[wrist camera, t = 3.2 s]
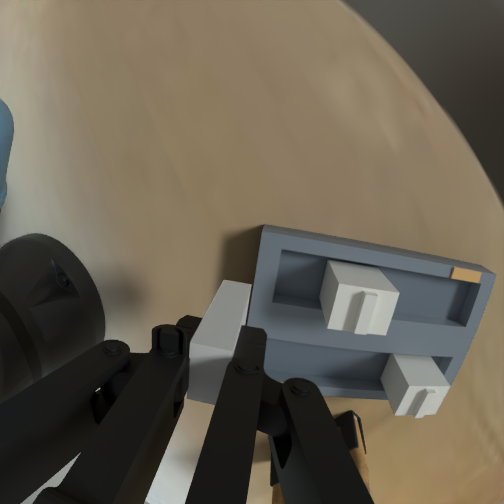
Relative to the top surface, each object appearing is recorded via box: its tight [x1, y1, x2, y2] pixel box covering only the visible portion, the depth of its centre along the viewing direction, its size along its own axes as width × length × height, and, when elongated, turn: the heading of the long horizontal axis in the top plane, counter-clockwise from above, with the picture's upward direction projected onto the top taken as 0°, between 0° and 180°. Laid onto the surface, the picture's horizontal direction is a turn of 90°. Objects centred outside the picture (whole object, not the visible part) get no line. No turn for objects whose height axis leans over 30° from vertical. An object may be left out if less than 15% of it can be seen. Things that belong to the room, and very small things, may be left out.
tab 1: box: [319, 260, 400, 336], centre depth 21 cm, size 4×3×6 cm
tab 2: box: [380, 353, 450, 418], centre depth 22 cm, size 4×3×6 cm
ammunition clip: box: [270, 410, 370, 504], centre depth 24 cm, size 11×2×12 cm, turn 132°
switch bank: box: [247, 224, 496, 400], centre depth 24 cm, size 20×13×3 cm, turn 82°
